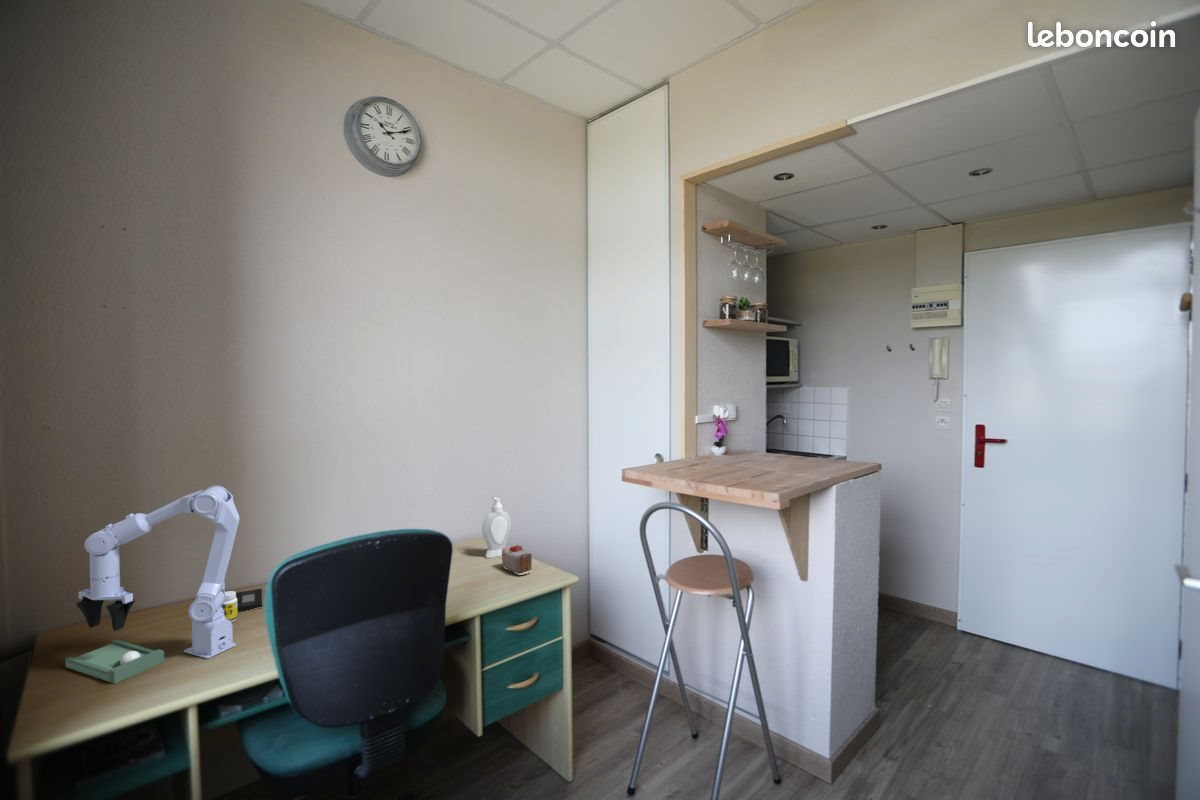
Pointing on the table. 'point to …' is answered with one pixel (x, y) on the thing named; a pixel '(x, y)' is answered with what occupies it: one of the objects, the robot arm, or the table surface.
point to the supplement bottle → (230, 606)
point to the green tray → (115, 661)
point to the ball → (129, 657)
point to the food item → (516, 559)
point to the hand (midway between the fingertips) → (106, 627)
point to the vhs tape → (249, 600)
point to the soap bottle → (496, 529)
